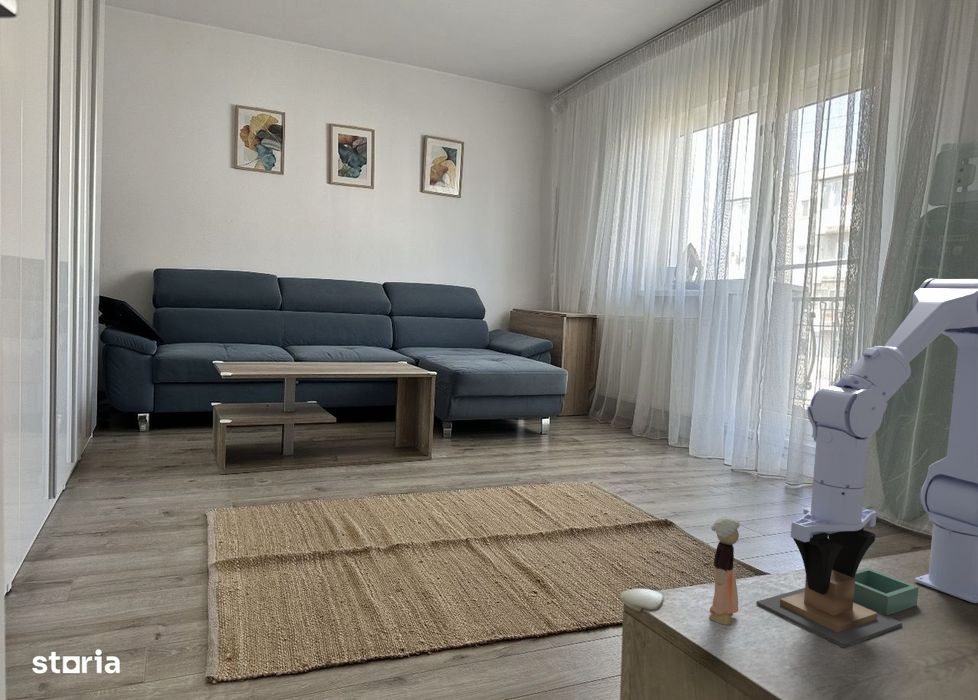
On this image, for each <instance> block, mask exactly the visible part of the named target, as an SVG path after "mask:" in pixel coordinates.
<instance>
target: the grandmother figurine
mask: <svg viewBox="0 0 978 700" xmlns="http://www.w3.org/2000/svg"><path fill="white" fill-rule="evenodd" d="M740 524H741V523H740V521H739V519H737V518H736V517H733V516H730V515H723V516H721V517H719V518H718V519H716V520H715V522H714V523H713V524H712V525H711V527H710V528H711V531H713V532H715V533H716V537H717V539H718V541H719V542H718V543H717V547H716V549H715V554H714V560H713V566H714V570H713V579H714V581H713V582H714V595H713V600H712V603H711V607H710V608H709V611H710V614H709V617H708V619H710V620H711V621H713V622H717V623H718V624H721V625H726V626H729V625H732V624H733V621H734V620H733V618H732V616H733V615H734V614H736V613H737V612H739V595H738V593H739V592H738V586H737V579H736V574H735V570H734V560H735V555H734V551H735V550H734V549H735V547H734V545H735V544H736V543H738V542H737V541H738V540H739V533H740V532H739V530H738V529H739V528H740V526H741V525H740Z"/></svg>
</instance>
